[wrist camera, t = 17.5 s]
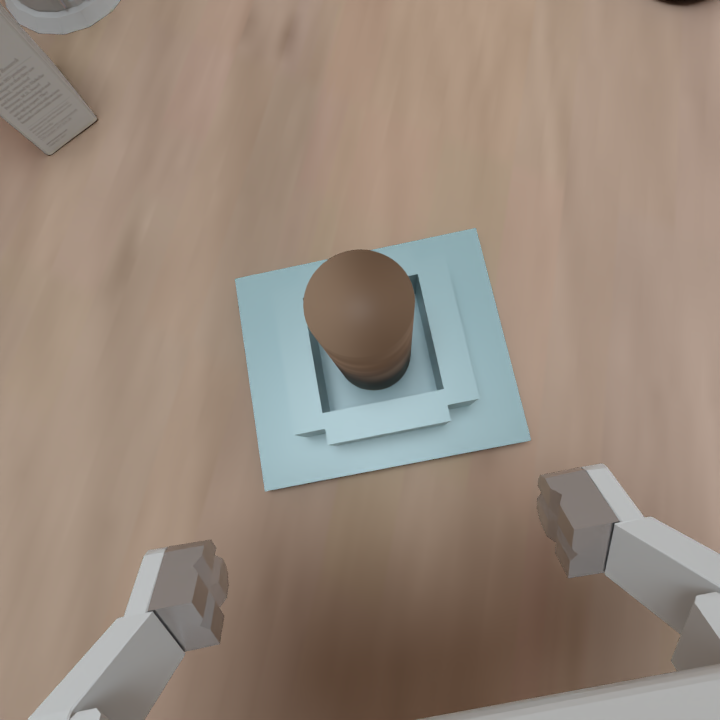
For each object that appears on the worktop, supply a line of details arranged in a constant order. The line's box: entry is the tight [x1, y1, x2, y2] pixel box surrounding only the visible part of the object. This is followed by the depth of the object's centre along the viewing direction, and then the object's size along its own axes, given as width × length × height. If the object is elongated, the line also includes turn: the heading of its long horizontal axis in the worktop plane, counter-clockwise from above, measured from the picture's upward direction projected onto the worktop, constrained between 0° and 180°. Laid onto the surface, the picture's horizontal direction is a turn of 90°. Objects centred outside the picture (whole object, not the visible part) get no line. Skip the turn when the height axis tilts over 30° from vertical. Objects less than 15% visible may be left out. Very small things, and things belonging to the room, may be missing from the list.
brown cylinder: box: [303, 250, 415, 390], centre depth 21 cm, size 4×4×9 cm
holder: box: [235, 228, 531, 491], centre depth 25 cm, size 14×12×4 cm
